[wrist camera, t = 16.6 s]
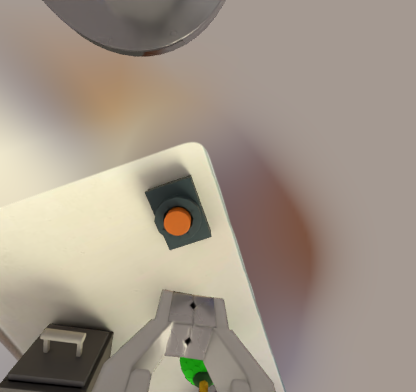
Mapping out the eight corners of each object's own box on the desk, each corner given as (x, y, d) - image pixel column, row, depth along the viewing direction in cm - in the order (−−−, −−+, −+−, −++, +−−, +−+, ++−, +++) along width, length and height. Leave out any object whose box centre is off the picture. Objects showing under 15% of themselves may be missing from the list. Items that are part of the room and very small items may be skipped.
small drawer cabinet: (49, 324, 35) (-4, 387, 26) (113, 332, 37) (84, 395, 27) (48, 376, 39) (0, 449, 29) (106, 382, 40) (78, 454, 31)
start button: (162, 211, 27) (159, 216, 25) (185, 203, 27) (185, 207, 25) (171, 233, 28) (169, 239, 26) (194, 226, 28) (194, 231, 26)
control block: (148, 189, 30) (140, 195, 26) (190, 174, 30) (189, 179, 26) (171, 243, 32) (167, 256, 29) (210, 230, 32) (212, 242, 28)
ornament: (173, 328, 37) (164, 393, 27) (208, 308, 36) (212, 368, 26) (197, 354, 39) (196, 423, 29) (230, 335, 38) (241, 400, 28)
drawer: (50, 305, 33) (6, 351, 26) (111, 313, 34) (86, 360, 27) (48, 373, 37) (9, 431, 30) (102, 379, 38) (79, 437, 31)
